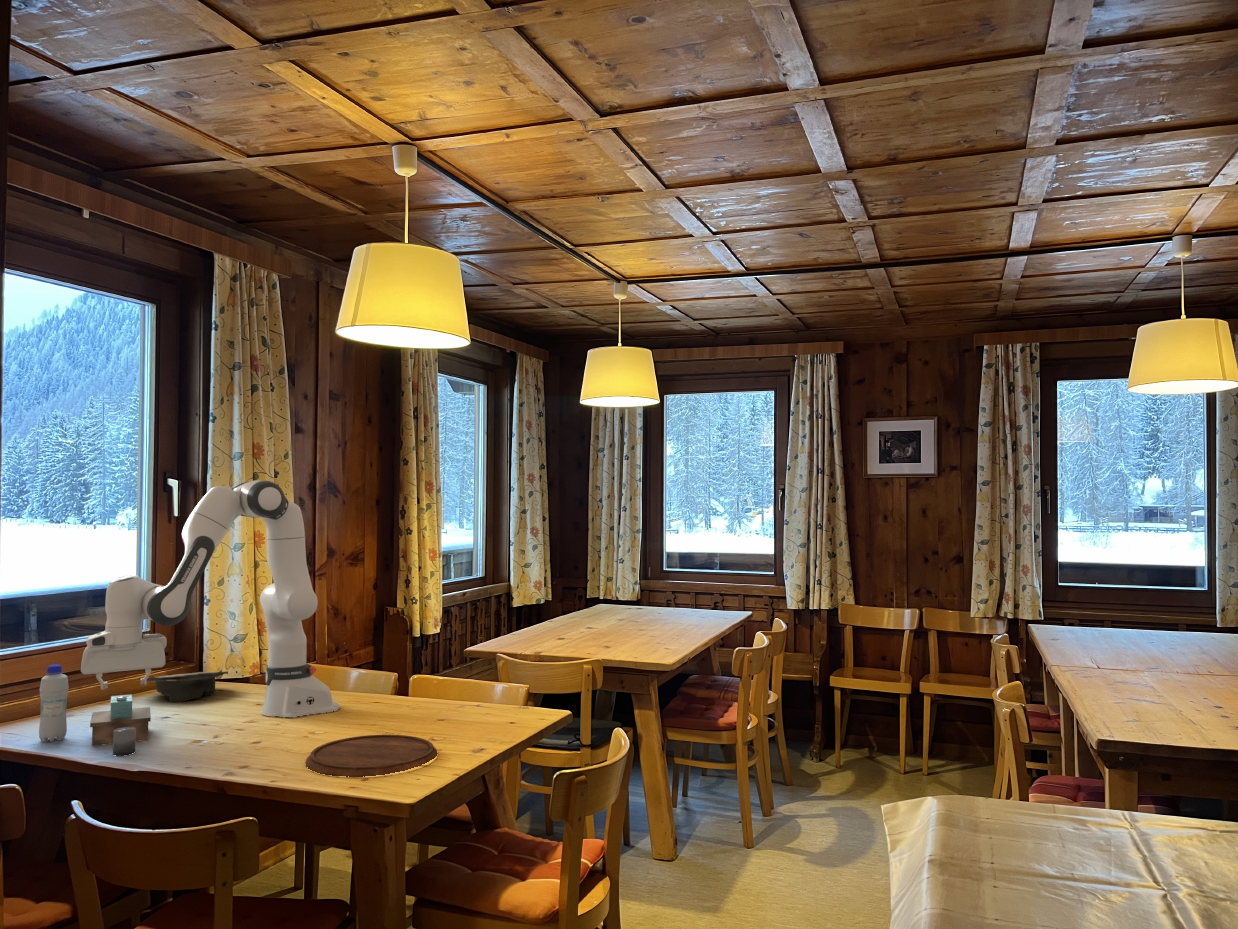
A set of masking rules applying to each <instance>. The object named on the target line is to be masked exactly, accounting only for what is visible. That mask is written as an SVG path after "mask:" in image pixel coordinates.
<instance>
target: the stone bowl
mask: <svg viewBox="0 0 1238 929" xmlns="http://www.w3.org/2000/svg"><path fill="white" fill-rule="evenodd" d="M228 673H229V671H205V672H203V671H199V672H192V673H189V672H188V673H177V674H171V675H168V674H167V675H161V676H150V677H148V678H147V682H155V690H156V692H157V693H160V694H161V695H163V696H168V700H169V701H170V702H171V703H179V702H180V703H181V702H182V701H183V702H185V701H189V700H192V699H199V698H201V697H203V696H207V697H209V696H212V695H214V694H215V691H216V678H217V677H220V676H222V675H225V674H228ZM177 701H179V702H177Z"/></svg>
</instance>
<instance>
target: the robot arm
mask: <svg viewBox="0 0 1238 929" xmlns="http://www.w3.org/2000/svg"><path fill="white" fill-rule="evenodd" d="M239 516H241V517H246V518H254V519H256V518H261V519H262V520H263V522H264V524H265V527H266V528H265V529H266V554H267V555H266V557H267V566H268V568H269V571H270V573H271V575H272V576H271V577H272V580H273V583H271V584H269V585H267V586H265V587H264V589H263V590H262V592H261V594H260V597H259V602H260V605H261V607H262V611H263V615H264V616H263V617H264V621H265V622H264V623H265V628H266V633H267V634H266V635H267V665H266V667H265V685H266V688H265V696H264V700H263V706H262V709H261V711H260V713H261V715H263V716H266V717H267V716H268V717H275V716H280V717H279V718H285V717H293V718H298V717H297V716H300V717H304V716H303V715H307V716H310V715H309V714H314V715H317V714H316V713H321V714H327V713H334V712H337V711H339V710H340V704H339V703H338V701H335V700H333V697H332V691H331V689H330V687H329V686H328V685H327V684H325V683H324V682H323V681H321V680H320V679H318V678H317V677H315V676H314V675H313V674H315V673H316V672H317V671H318V669H317V667H316V666H315V665H311V664H309V663H307V642H308V639H307V636H306V634H305V631H304V628H303V623H302V621H303V620H304V621H305V620H306V619H309V618H311V617H312V616H313V615H314V614H315V612H316V611H317V608H318V603H319V602H318V601H319V600H318V596H317V595H316V593H315V591H314V589H313V585H312V581H311V577H310V573H309V569H308V565H307V553H306V552H307V550H306V533H305V524H304V518H303V513H302V510H301V507H300V506H299V505H298V504H297V503H294V502H292V501H289V500H288V498H287V496H286V495H285V492H284V491H283V489H282V488H281V487H280V486H279V485H278V484H277V483H275V482H273V481H270V480H259V479H258V480H256V479H255V480H250V481H244V482H242V483H240V484H237V485H236V486H235V487H232V488H231V487H228V486H225V485H216V486H213V487H211V488H210V489H209V490H208V492H206V493H205V495H204V496H202V498H201V499H200V500H199V502H198V503H197V505H195V507H194V509H193V510H192V512H191V513H190V514H189V516H188V518H187V519H186V521H185V523H184V525H183V528H182V532H181V539H182V542H183V544H184V555H183V557H182V560H181V561H180V563H179V565H178V567H177V568H176V570H175V572H174V574H173V576H172V577H171V579H170V581H169V582H168V583H167V584H166V585H165V586H164V585H161V584H157V583H153V582H150V581H149V580H147V579H144V578H142V577H140V576H139V575H137V574H131V575H124V576H121V577H116V578H114V579H112V580H110V582H109V583H108V584H107V587H106V592H105V608H104V609H105V614H106V622H105V625H104V626H105V629H104V631H100V632H97V633H95V634H92V635H89V636H88V637H87V638H86V647H85V649H84V650H83V653H82V657H81V658H82V659H81V665H80V672H81V673H82V674H83V675H93V674H94V675H95V678H96V680H97V681H98V682H99V684H100V690H101V691H103V690H108V681H104V680H103V679H102V677H103V674H105V673H106V674H107V673H115V672H124V671H125V672H126V671H137V670H145V676H144V677H141V678H140V686H141V687H142V686H147V683H148V681H147V678H150V677H149V676H150V675H151V673H152V669H157V668H163V667H164V666H165V665H166V654H165V649H166V647H167V646H168V645H167V644H168V642H167V641H168V640H167V639H168V638H167V637H166V635H163V634H161V633H152V634H151V633H146V634H143V621H144V620H150V621H152V622H154V623H156V624H157V625H158V626H164V627H171V626H175V625H177V624H179V623H180V622H182V621H184V619H186V617H187V616H188V613H189V612H190V607H191V600H192V595H193V592H194V590H195V588H196V587H197V584H198V582H199V581H200V579H201V577H202V575H203V574H204V572H205V569H206V568H207V565H209V562H210V560H211V558H212V556H213V555H214V553H215V551H216V550H217V548H218V547H219V545H220V544H221V542H222V541H223V539H224V538H225V536H226V535H227V533H228V532H229V529H230V528H231V526H232V524H233V522H234V521H235V520H236V519H237V518H238V517H239ZM338 709H339V710H338ZM333 711H334V712H333ZM326 712H327V713H326ZM281 716H282V717H281Z"/></svg>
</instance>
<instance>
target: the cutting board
mask: <svg viewBox="0 0 1238 929" xmlns="http://www.w3.org/2000/svg"><path fill="white" fill-rule="evenodd" d="M437 751H438V749H437V748H436V747H435V746H434V744H433V742H431V741H430V740H427V739H425V738H421V737H417V736H413V735H405V734H369V735H368V734H367V735H360V736H359V735H358V736H352V737H346V738H342V739H337V740H336V739H335V740H333V741H329V742H327V743H324V744H321V745H319V746H317V747H316V748H315V747H314V749H313V750H312V751H311V752H310V754H309V755H308V756H307V758H306V760H305V762H304V763H305V764H306V765H305V764H304V765H305V767H306V768H307V767H308V769H310V770H312V771H315V772H317V773H320V774H325V775H332V776H346V777H348V776H349V777H363V776H364V777H365V776H376V775H385V774H390V773H395V772H400V771H405V770H408V769H411V768H414V767H418V766H421V765H422V764H425V763H427V762H429V761H430V760H432V759H434V758H435V757H436V756H437V754H438V755H439V752H438V753H437ZM308 769H307V770H308ZM310 770H309V771H310ZM312 771H311V772H312ZM317 773H316V774H317ZM320 774H319V775H320Z"/></svg>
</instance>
